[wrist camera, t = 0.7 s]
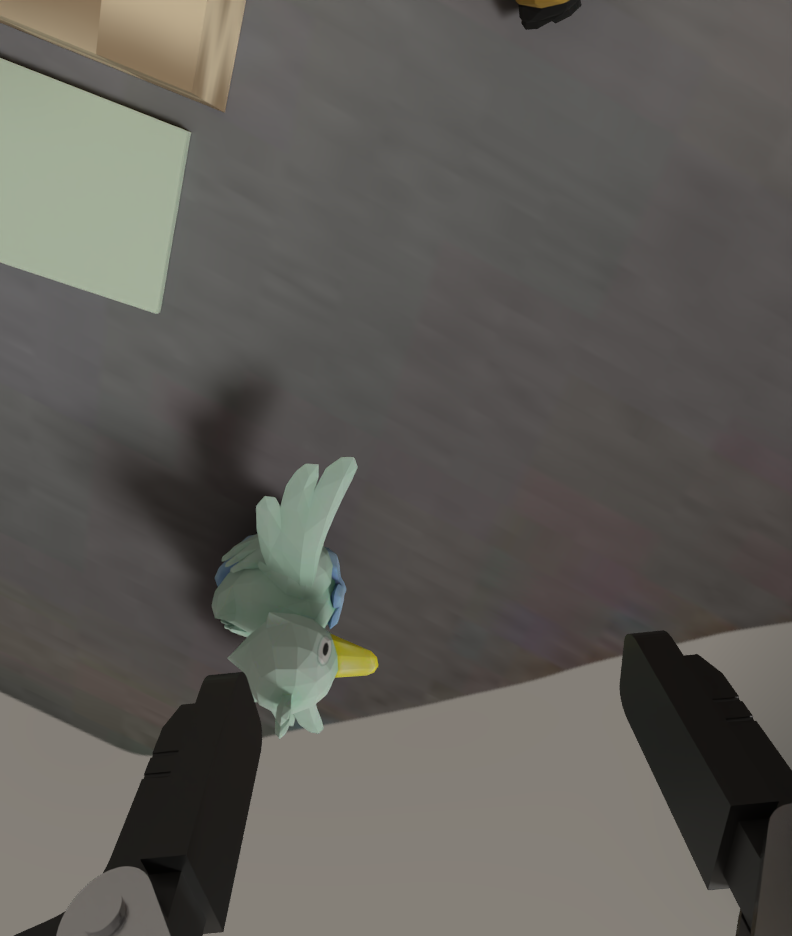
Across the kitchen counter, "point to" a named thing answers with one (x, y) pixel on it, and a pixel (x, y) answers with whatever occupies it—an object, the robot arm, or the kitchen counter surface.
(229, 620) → the toy
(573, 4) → the figurine
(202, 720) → the robot arm
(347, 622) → the kitchen counter surface
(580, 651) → the kitchen counter surface
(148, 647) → the kitchen counter surface
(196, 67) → the bore block
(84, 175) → the pad
